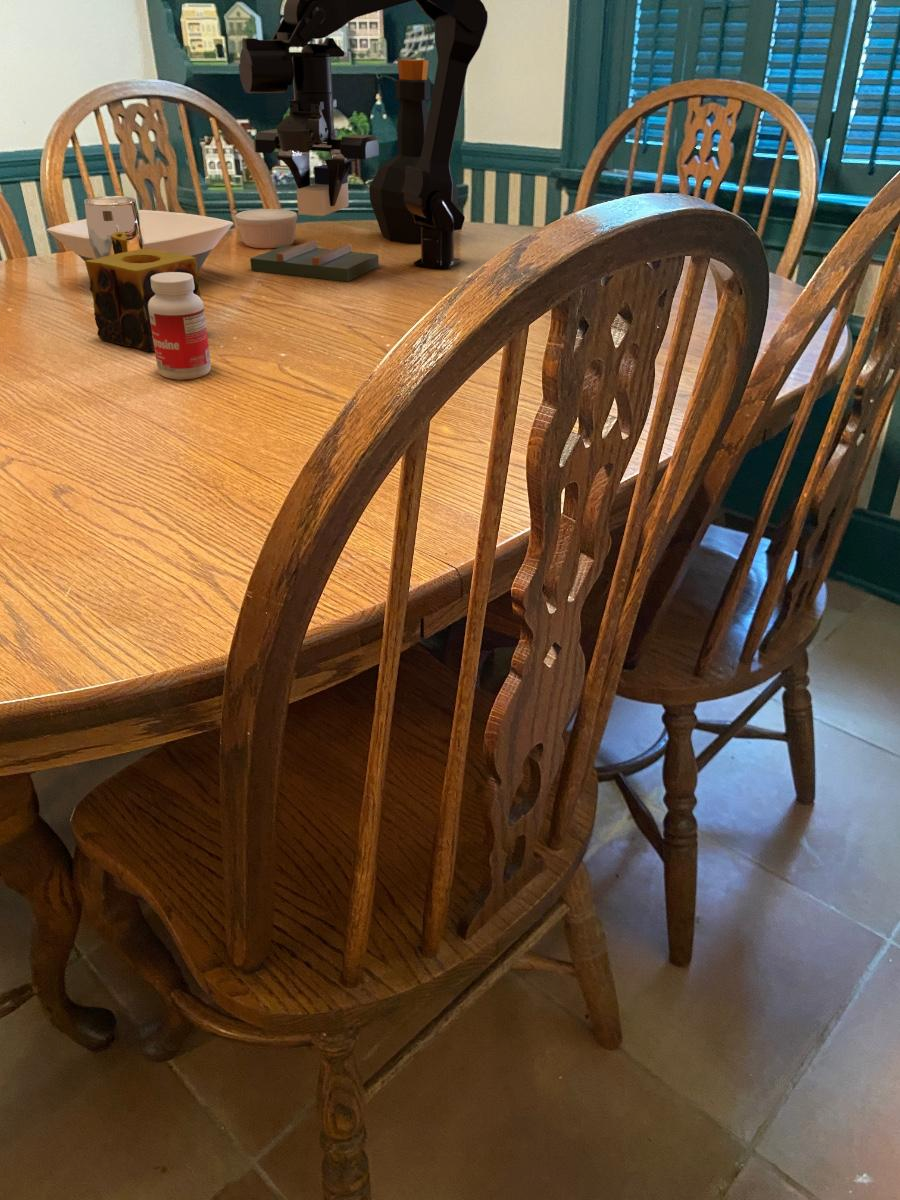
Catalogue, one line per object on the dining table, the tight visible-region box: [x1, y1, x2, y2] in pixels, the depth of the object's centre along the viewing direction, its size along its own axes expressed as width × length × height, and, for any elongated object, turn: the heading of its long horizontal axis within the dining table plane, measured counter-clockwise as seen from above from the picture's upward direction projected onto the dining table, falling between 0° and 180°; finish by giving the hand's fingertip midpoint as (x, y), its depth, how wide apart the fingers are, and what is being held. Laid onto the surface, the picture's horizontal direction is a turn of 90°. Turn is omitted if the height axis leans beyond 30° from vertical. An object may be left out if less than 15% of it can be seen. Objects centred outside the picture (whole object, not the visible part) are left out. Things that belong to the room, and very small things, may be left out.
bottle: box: [368, 58, 459, 243], centre depth 170 cm, size 16×16×30 cm
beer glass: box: [83, 195, 144, 259], centre depth 125 cm, size 7×7×15 cm
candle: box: [84, 249, 202, 353], centre depth 117 cm, size 10×10×10 cm
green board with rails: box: [249, 239, 379, 283], centre depth 153 cm, size 12×18×3 cm, turn 69°
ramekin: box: [234, 208, 298, 249], centre depth 169 cm, size 11×11×5 cm
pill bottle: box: [148, 272, 212, 381], centre depth 105 cm, size 6×6×11 cm
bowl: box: [46, 209, 234, 274], centre depth 142 cm, size 22×23×8 cm
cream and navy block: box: [296, 164, 350, 217], centre depth 143 cm, size 10×4×6 cm, turn 161°
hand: (319, 204), depth 143 cm, fingers closed on cream and navy block, 4 cm apart
